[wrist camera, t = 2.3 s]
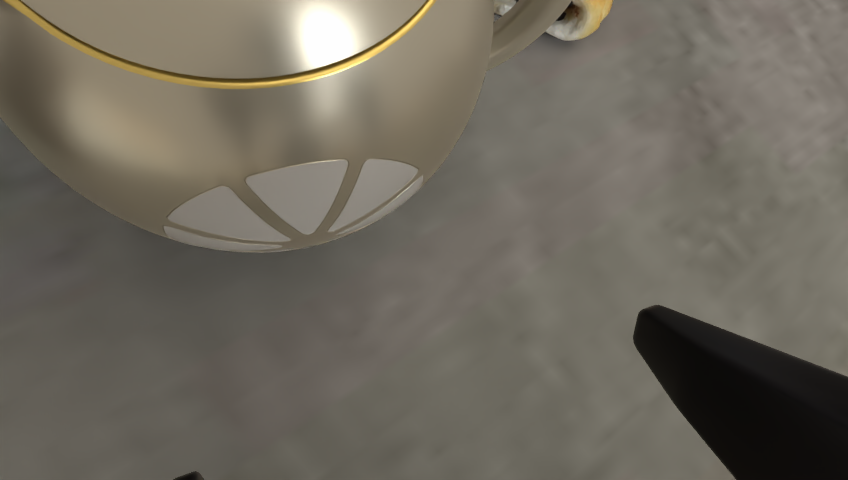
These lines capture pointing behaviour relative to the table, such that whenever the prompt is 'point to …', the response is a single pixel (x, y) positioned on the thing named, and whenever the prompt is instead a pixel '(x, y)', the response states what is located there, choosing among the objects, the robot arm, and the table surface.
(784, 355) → the robot arm
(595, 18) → the pastry
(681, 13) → the table surface
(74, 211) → the table surface
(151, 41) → the teapot
